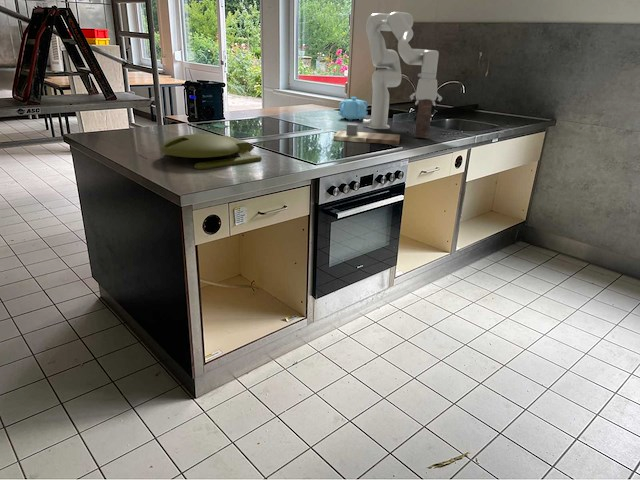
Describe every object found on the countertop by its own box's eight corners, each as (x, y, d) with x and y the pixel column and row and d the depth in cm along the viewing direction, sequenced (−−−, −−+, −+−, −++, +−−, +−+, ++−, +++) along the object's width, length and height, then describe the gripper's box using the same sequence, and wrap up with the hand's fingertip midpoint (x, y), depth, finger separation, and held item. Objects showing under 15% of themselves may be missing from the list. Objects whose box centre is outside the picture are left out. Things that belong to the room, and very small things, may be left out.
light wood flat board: (333, 140, 239) (333, 136, 238) (338, 134, 254) (338, 130, 253) (398, 144, 234) (399, 140, 234) (399, 138, 249) (400, 134, 248)
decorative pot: (344, 122, 293) (345, 98, 288) (332, 117, 309) (333, 95, 304) (373, 121, 300) (375, 98, 294) (360, 116, 316) (361, 95, 311)
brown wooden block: (419, 139, 248) (424, 99, 240) (411, 137, 254) (415, 97, 246) (431, 138, 251) (436, 99, 244) (422, 136, 257) (427, 97, 250)
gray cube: (346, 134, 243) (346, 124, 241) (347, 133, 247) (348, 123, 245) (356, 135, 242) (356, 125, 240) (357, 133, 246) (357, 123, 244)
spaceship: (225, 148, 216) (224, 125, 212) (264, 161, 195) (264, 137, 191) (148, 157, 195) (146, 133, 191) (183, 174, 173) (181, 147, 170)
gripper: (410, 76, 239) (406, 113, 246) (446, 78, 236) (441, 115, 243) (410, 75, 246) (407, 111, 252) (445, 77, 243) (441, 113, 250)
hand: (424, 112), depth 248 cm, fingers closed on brown wooden block, 7 cm apart
